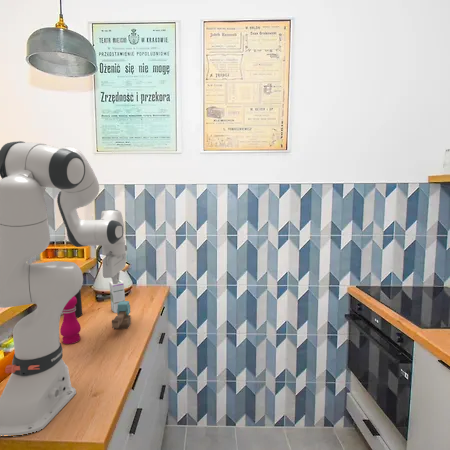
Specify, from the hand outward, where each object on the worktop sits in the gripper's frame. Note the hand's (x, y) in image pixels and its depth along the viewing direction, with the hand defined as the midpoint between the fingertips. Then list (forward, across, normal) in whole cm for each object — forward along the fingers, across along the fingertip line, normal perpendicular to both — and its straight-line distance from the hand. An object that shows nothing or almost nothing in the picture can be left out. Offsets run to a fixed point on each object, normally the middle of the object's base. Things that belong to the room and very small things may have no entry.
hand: (115, 283), depth 129 cm
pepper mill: (+21, -5, +17) cm, 28 cm away
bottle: (+20, +20, +26) cm, 39 cm away
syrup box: (+20, +25, +7) cm, 33 cm away
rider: (+16, +9, 0) cm, 19 cm away
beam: (+21, +6, 0) cm, 22 cm away
